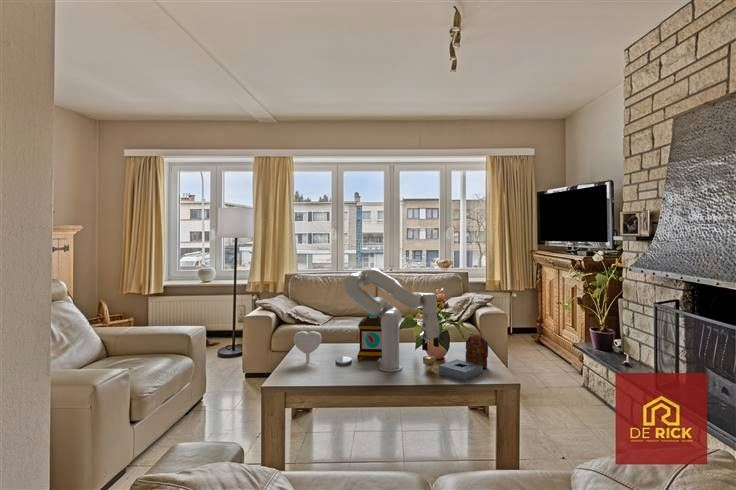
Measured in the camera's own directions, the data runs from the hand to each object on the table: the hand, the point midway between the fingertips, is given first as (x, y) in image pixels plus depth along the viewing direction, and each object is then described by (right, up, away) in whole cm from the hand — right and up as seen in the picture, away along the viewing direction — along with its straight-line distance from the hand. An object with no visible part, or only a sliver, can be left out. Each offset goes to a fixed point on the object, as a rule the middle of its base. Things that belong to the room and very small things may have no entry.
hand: (430, 348), depth 224 cm
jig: (+15, -12, -6) cm, 20 cm away
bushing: (-1, -12, 0) cm, 12 cm away
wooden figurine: (+26, -13, +7) cm, 30 cm away
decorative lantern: (-30, -12, +28) cm, 43 cm away
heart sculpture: (-68, -13, +16) cm, 71 cm away
